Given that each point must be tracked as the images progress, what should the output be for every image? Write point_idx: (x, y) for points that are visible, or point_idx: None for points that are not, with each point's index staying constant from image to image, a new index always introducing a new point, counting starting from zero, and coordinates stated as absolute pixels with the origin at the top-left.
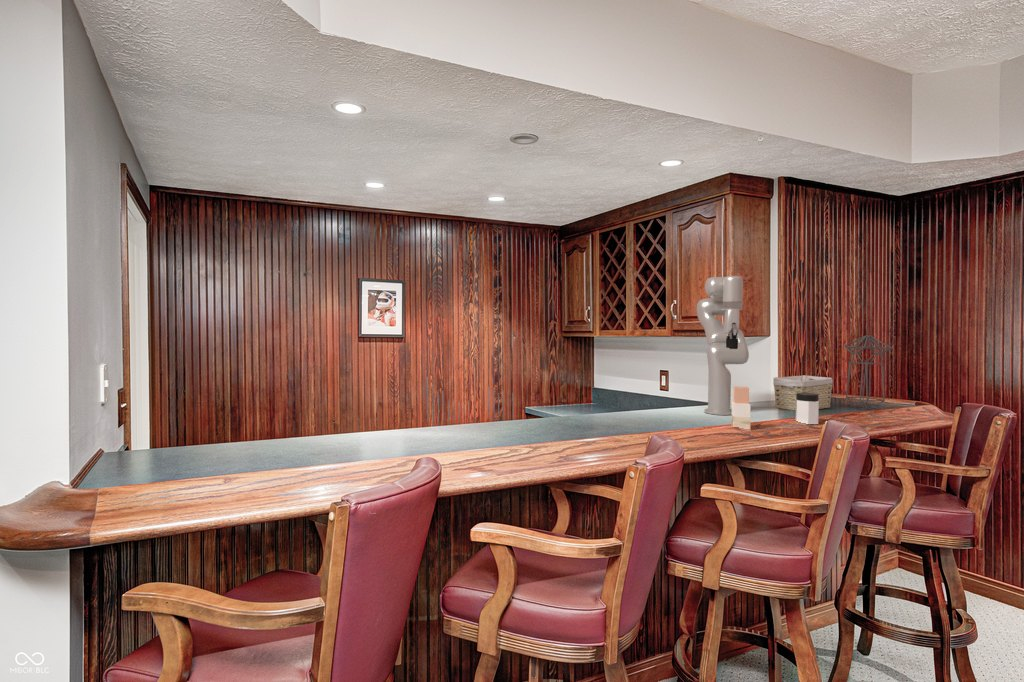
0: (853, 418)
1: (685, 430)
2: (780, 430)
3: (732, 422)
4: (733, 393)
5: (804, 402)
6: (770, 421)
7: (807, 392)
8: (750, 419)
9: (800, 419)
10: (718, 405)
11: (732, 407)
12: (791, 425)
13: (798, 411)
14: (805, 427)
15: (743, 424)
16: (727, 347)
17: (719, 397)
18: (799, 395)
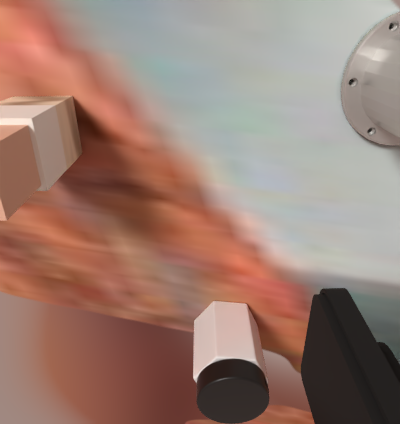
0: None
1: None
2: (69, 240)
3: (37, 100)
4: (4, 136)
5: (201, 367)
6: (230, 240)
7: None
8: None
9: (207, 316)
10: (377, 77)
11: (12, 112)
12: (171, 281)
13: (211, 330)
14: (150, 307)
15: None
16: (312, 301)
17: (395, 88)
18: (213, 377)
